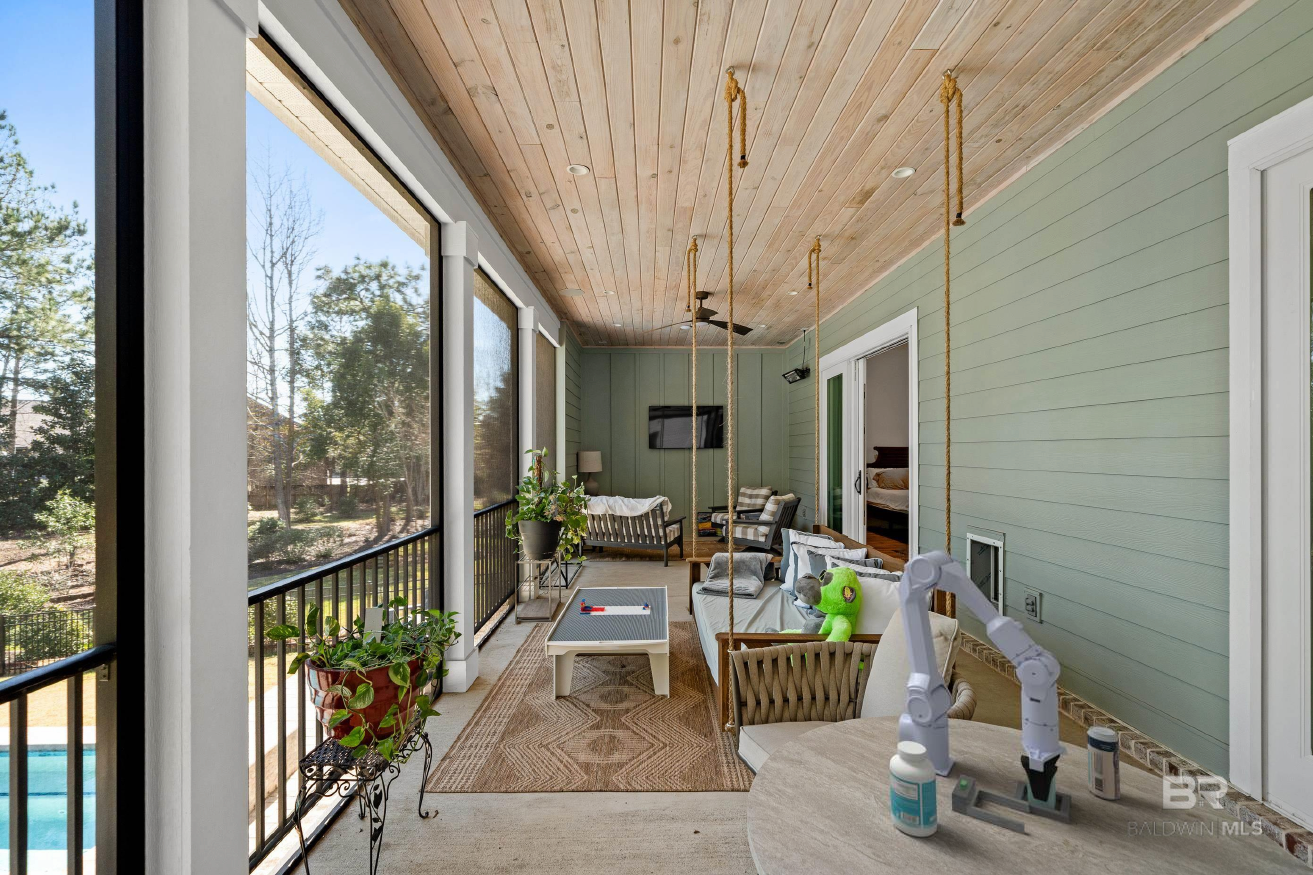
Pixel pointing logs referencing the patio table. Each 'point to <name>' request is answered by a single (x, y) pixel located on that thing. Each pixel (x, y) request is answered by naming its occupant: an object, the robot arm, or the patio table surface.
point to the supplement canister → (1103, 762)
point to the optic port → (969, 795)
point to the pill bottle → (913, 790)
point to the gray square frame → (1044, 811)
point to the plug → (1051, 799)
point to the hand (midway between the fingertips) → (1041, 793)
